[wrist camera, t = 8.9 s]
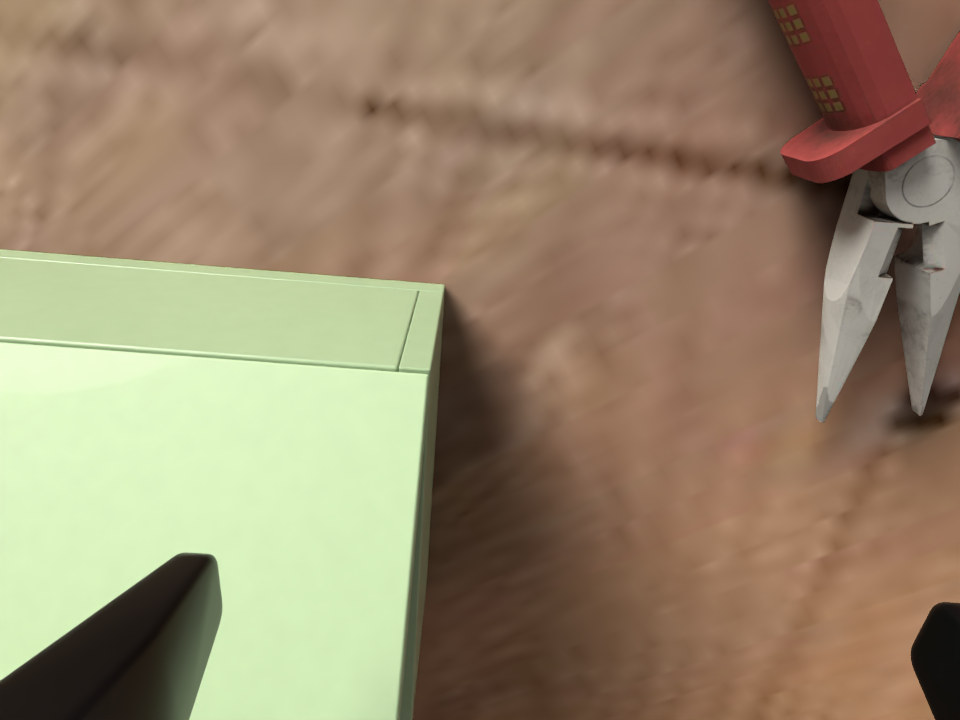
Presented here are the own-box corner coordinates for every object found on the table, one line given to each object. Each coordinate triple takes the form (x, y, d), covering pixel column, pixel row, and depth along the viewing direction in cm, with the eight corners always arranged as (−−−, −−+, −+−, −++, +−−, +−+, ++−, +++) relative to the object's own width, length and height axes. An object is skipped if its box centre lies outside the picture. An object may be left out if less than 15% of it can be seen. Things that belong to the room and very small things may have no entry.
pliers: (666, 416, 21) (690, 462, 18) (667, -497, 12) (713, -633, 10) (1033, 377, 20) (1108, 420, 18) (1304, -609, 12) (1518, -782, 9)
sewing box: (426, 586, 24) (411, 732, 19) (6, 559, 23) (-129, 701, 18) (445, 284, 19) (431, 369, 14) (-91, 241, 18) (-316, 312, 13)
